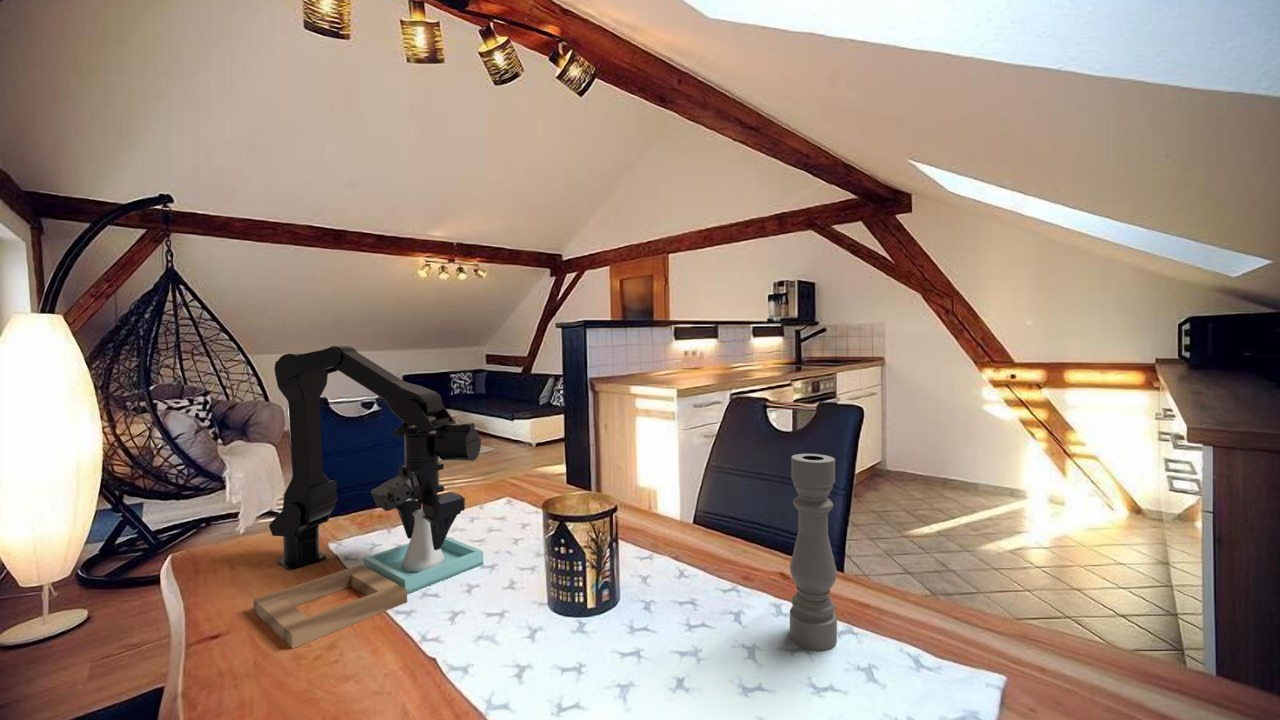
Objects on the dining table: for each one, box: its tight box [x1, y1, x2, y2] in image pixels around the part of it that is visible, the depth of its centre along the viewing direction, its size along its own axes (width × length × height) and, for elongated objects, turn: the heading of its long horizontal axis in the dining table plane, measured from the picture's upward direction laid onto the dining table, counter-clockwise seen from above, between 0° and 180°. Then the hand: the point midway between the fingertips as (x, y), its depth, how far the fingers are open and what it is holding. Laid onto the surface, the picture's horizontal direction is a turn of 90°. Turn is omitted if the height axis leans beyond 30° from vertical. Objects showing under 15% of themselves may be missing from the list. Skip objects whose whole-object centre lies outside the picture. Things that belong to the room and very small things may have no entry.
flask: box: [401, 508, 446, 572], centre depth 95 cm, size 7×7×10 cm
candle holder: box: [789, 453, 838, 652], centre depth 71 cm, size 6×6×25 cm
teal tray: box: [362, 536, 484, 595], centre depth 95 cm, size 15×15×2 cm
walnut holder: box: [253, 564, 408, 649], centre depth 81 cm, size 16×16×2 cm
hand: (423, 543), depth 95 cm, fingers open, 9 cm apart
